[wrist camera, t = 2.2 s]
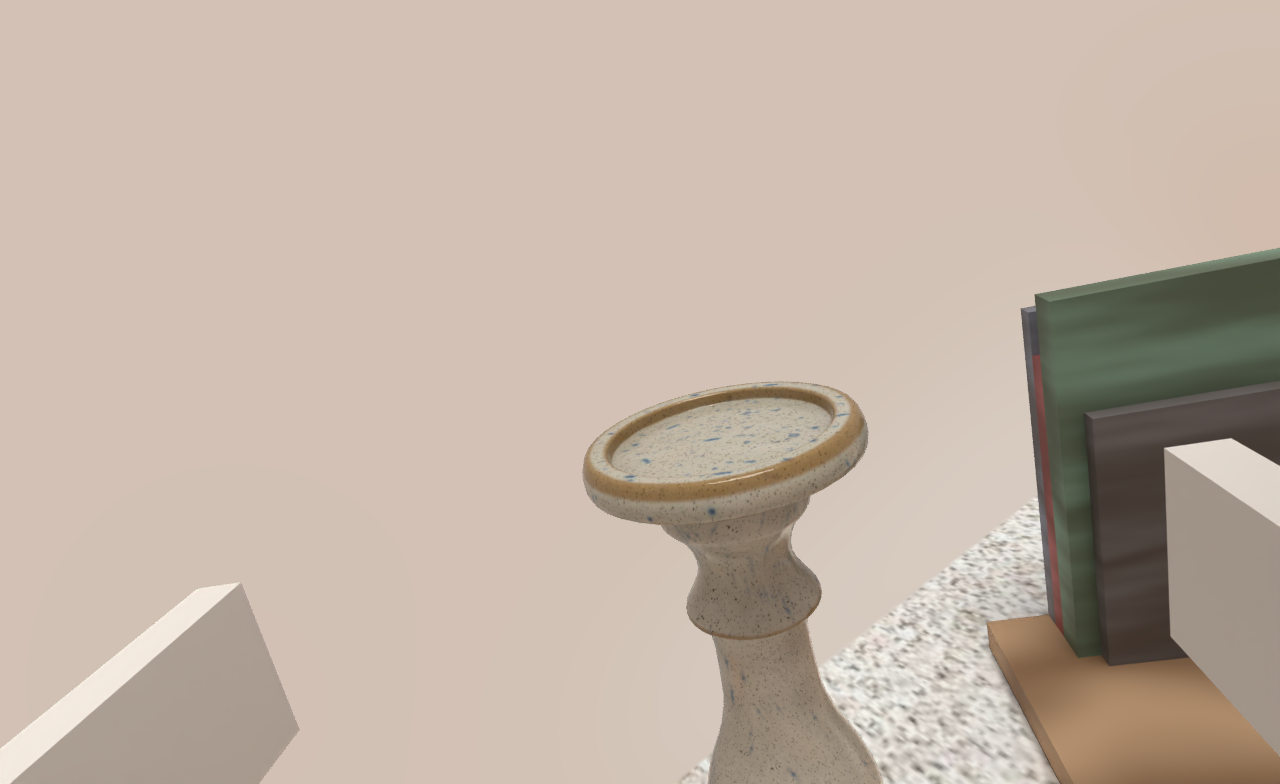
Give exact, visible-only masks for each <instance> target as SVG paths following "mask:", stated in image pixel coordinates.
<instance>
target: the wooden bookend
mask: <svg viewBox="0 0 1280 784" xmlns="http://www.w3.org/2000/svg"><path fill="white" fill-rule="evenodd" d="M1035 304H1036V306H1032V307H1027V308H1022V309H1021V315H1022V327H1023V338H1024V348H1025V360H1026V370H1027V381H1028V392H1029V403H1030V413H1031V425H1032V436H1033V446H1034V457H1035V468H1036V480H1037V489H1038V501H1039V512H1040V523H1041V534H1042V545H1043V556H1044V567H1045V578H1046V589H1047V599H1048V610H1049V615H1042V616H1034V617H1025V618H1017V619H1009V620H1001V621H993V622H987V628H988V637H989V645H990V649H991V651H992V652H993V654H994V656H995V658H996V660H997V662H998V664H999V666H1000V668H1001V670H1002V672H1003V674H1004V676H1005V678H1006V680H1007V681H1008V683H1009V685H1010V687H1011V689H1012V691H1013V693H1014V695H1015V697H1016V699H1017V701H1018V703H1019V705H1020V707H1021V708H1022V710H1023V712H1024V714H1025V716H1026V718H1027V720H1028V722H1029V724H1030V726H1031V728H1032V730H1033V732H1034V734H1035V735H1036V737H1037V739H1038V741H1039V743H1040V745H1041V747H1042V749H1043V751H1044V753H1045V755H1046V757H1047V759H1048V761H1049V762H1050V764H1051V766H1052V768H1053V770H1054V772H1055V774H1056V776H1057V778H1058V780H1059V782H1060V784H1280V756H1279V755H1278V754H1277V753H1276V752H1275V751H1274V750H1273V749H1272V747H1271V746H1270V745H1269V744H1268V743H1267V742H1266V741H1265V740H1264V739H1263V738H1262V736H1261V735H1260V734H1259V733H1258V732H1257V731H1256V730H1255V729H1254V728H1253V727H1252V725H1251V724H1250V723H1249V722H1248V721H1247V720H1246V719H1245V718H1244V717H1243V716H1242V714H1241V713H1240V712H1239V711H1238V710H1237V709H1236V708H1235V707H1234V706H1233V704H1232V703H1231V702H1230V701H1229V700H1228V699H1227V698H1226V697H1225V696H1224V695H1223V693H1222V692H1221V691H1220V690H1219V689H1218V688H1217V687H1216V686H1215V685H1214V684H1213V682H1212V681H1211V680H1210V679H1209V678H1208V677H1207V676H1206V675H1205V674H1204V673H1203V671H1202V670H1201V669H1200V668H1199V667H1198V666H1197V665H1196V664H1195V663H1194V662H1193V660H1192V659H1191V658H1190V657H1189V656H1188V655H1187V654H1186V653H1185V652H1184V651H1183V649H1182V648H1181V647H1180V646H1179V645H1178V644H1177V643H1176V642H1175V641H1174V640H1173V638H1172V637H1171V636H1170V608H1169V579H1168V549H1167V520H1166V491H1165V461H1164V448H1168V447H1175V446H1181V445H1188V444H1195V443H1202V442H1209V441H1216V440H1223V439H1230V438H1232V439H1233V440H1235V441H1237V442H1239V443H1240V444H1242V445H1244V446H1246V447H1247V448H1249V449H1251V450H1253V451H1254V452H1256V453H1258V454H1260V455H1261V456H1263V457H1265V458H1267V459H1268V460H1270V461H1272V462H1274V463H1275V464H1277V465H1279V466H1280V248H1276V249H1272V250H1266V251H1261V252H1255V253H1251V254H1245V255H1240V256H1235V257H1229V258H1224V259H1219V260H1213V261H1209V262H1203V263H1198V264H1193V265H1187V266H1182V267H1177V268H1172V269H1167V270H1161V271H1156V272H1150V273H1146V274H1140V275H1135V276H1130V277H1124V278H1119V279H1114V280H1108V281H1103V282H1098V283H1093V284H1088V285H1083V286H1077V287H1072V288H1067V289H1061V290H1056V291H1051V292H1046V293H1040V294H1035Z"/></svg>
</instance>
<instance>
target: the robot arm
mask: <svg viewBox="0 0 1280 784" xmlns="http://www.w3.org/2000/svg"><path fill="white" fill-rule="evenodd" d="M1164 461H1165V491H1166V520H1167V549H1168V579H1169V608H1170V636H1171V637H1172V638H1173V640H1174V641H1175V642H1176V643H1177V644H1178V645H1179V646H1180V647H1181V648H1182V649H1183V651H1184V652H1185V653H1186V654H1187V655H1188V656H1189V657H1190V658H1191V659H1192V660H1193V662H1194V663H1195V664H1196V665H1197V666H1198V667H1199V668H1200V669H1201V670H1202V671H1203V673H1204V674H1205V675H1206V676H1207V677H1208V678H1209V679H1210V680H1211V681H1212V682H1213V684H1214V685H1215V686H1216V687H1217V688H1218V689H1219V690H1220V691H1221V692H1222V693H1223V695H1224V696H1225V697H1226V698H1227V699H1228V700H1229V701H1230V702H1231V703H1232V704H1233V706H1234V707H1235V708H1236V709H1237V710H1238V711H1239V712H1240V713H1241V714H1242V716H1243V717H1244V718H1245V719H1246V720H1247V721H1248V722H1249V723H1250V724H1251V725H1252V727H1253V728H1254V729H1255V730H1256V731H1257V732H1258V733H1259V734H1260V735H1261V736H1262V738H1263V739H1264V740H1265V741H1266V742H1267V743H1268V744H1269V745H1270V746H1271V747H1272V749H1273V750H1274V751H1275V752H1276V753H1277V754H1278V755H1279V756H1280V466H1279V465H1277V464H1275V463H1274V462H1272V461H1270V460H1268V459H1267V458H1265V457H1263V456H1261V455H1260V454H1258V453H1256V452H1254V451H1253V450H1251V449H1249V448H1247V447H1246V446H1244V445H1242V444H1240V443H1239V442H1237V441H1235V440H1233V439H1232V438H1230V439H1223V440H1216V441H1209V442H1202V443H1195V444H1188V445H1181V446H1175V447H1168V448H1164ZM298 731H299V727H298V725H297V722H296V720H295V717H294V715H293V712H292V710H291V707H290V705H289V702H288V700H287V697H286V695H285V692H284V690H283V687H282V684H281V682H280V680H279V677H278V675H277V672H276V669H275V667H274V664H273V662H272V659H271V657H270V654H269V652H268V649H267V647H266V644H265V642H264V639H263V637H262V634H261V632H260V629H259V627H258V624H257V622H256V619H255V616H254V614H253V612H252V609H251V606H250V604H249V601H248V599H247V596H246V594H245V591H244V589H243V586H242V584H241V583H233V584H226V585H220V586H212V587H205V588H199V589H197V590H195V591H194V592H193V593H192V594H191V595H189V596H188V597H187V598H185V599H184V600H183V601H182V602H181V603H179V604H178V605H177V606H176V607H174V608H173V609H172V610H171V611H170V612H168V613H167V614H166V615H165V616H163V617H162V618H161V619H160V620H158V621H157V622H156V623H155V624H153V625H152V626H151V627H150V628H148V630H146V631H145V632H144V633H142V634H141V635H140V636H139V637H137V638H136V639H135V640H134V641H133V642H131V643H130V644H129V645H128V646H126V647H125V648H124V649H123V650H121V651H120V652H119V653H118V654H117V655H115V656H114V657H113V658H112V659H110V660H109V661H108V662H107V663H105V664H104V665H103V666H102V667H100V668H99V669H98V670H97V671H96V672H94V673H93V674H92V675H91V676H89V677H88V678H87V679H86V680H85V681H83V682H82V683H81V684H80V685H78V686H77V687H76V688H75V689H73V690H72V691H71V692H70V693H68V694H67V695H66V696H65V697H63V698H62V699H61V700H60V701H59V702H57V703H56V704H55V705H54V706H52V707H51V708H50V709H49V710H47V711H46V712H45V713H44V714H43V715H41V716H40V717H39V718H38V719H36V720H35V721H34V722H33V723H31V724H30V725H29V726H28V727H27V728H25V729H24V730H23V731H22V732H20V733H19V734H18V735H17V736H15V737H14V738H13V739H12V740H11V741H9V742H8V743H7V744H6V745H4V746H3V747H2V748H1V749H0V784H259V783H260V781H261V780H262V779H263V778H264V776H265V775H266V774H267V772H268V771H269V770H270V768H271V767H272V766H273V764H274V763H275V761H276V760H277V759H278V758H279V756H280V755H281V754H282V752H283V751H284V750H285V748H286V747H287V746H288V744H289V743H290V742H291V740H292V739H293V738H294V736H295V735H296V734H297V732H298Z"/></svg>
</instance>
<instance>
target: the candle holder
mask: <svg viewBox="0 0 1280 784" xmlns="http://www.w3.org/2000/svg"><path fill="white" fill-rule="evenodd" d="M867 444H868V427H867V423H866V420H865V417H864V415H863V413H862V411H861V409H860V408H859V406H858V404H857V403H855V402H854V400H852V399H851V398H850V397H849V396H848V395H847V394H845V393H843V392H841V391H839V390H836V389H833V388H830V387H827V386H822V385H817V384H810V383H799V382H761V383H750V384H741V385H733V386H727V387H721V388H716V389H711V390H706V391H702V392H697V393H693V394H689V395H686V396H682V397H678V398H675V399H672V400H669V401H666V402H663V403H660V404H658V405H655V406H652V407H650V408H647V409H645V410H642V411H640V412H638V413H636V414H634V415H631V416H629V417H628V418H626V419H624V420H622V421H620V422H619V423H617V424H615V425H614V426H612V427H611V428H609V429H608V430H606V431H605V432H604V433H603V434H601V435H600V436H599V437H598V438H597V439H596V440H595V441H594V442H593V443H592V444H591V446H590V447H589V449H588V451H587V453H586V455H585V458H584V464H583V481H584V485H585V488H586V491H587V494H588V496H589V497H590V499H591V500H592V501H593V502H594V504H595V505H596V506H597V507H598V508H600V509H601V510H603V511H605V512H606V513H607V514H610V515H613V516H615V517H618V518H621V519H625V520H630V521H634V522H639V523H647V524H657V525H661V526H662V528H663V530H664V531H666V532H667V533H668V534H669V535H670V536H671V537H673V538H675V539H676V540H678V541H680V542H682V543H684V544H685V545H687V546H688V547H689V549H690V550H691V551H692V552H693V554H694V556H695V558H696V560H697V564H698V574H697V577H696V579H695V582H694V584H693V586H692V588H691V590H690V593H689V596H688V598H687V613H688V616H689V618H690V620H691V621H692V622H693V624H694V625H695V626H696V627H698V628H699V629H700V630H702V631H703V632H705V633H707V634H710V635H712V637H713V640H714V643H715V647H716V652H717V658H718V663H719V668H720V674H721V681H722V687H723V693H724V708H723V717H722V724H721V728H720V731H719V734H718V737H717V740H716V744H715V747H714V751H713V755H712V759H711V763H710V769H709V776H708V784H883V780H882V777H881V774H880V771H879V769H878V766H877V764H876V762H875V760H874V758H873V756H872V754H871V752H870V751H869V749H868V747H867V746H866V744H865V743H864V741H863V740H862V738H861V737H860V735H859V734H858V732H857V731H856V730H855V728H854V727H853V726H852V725H851V723H850V722H849V721H848V720H847V719H846V717H845V716H844V715H843V714H842V713H841V712H840V711H839V709H838V708H837V707H836V705H835V704H834V703H833V701H832V699H831V698H830V696H829V694H828V693H827V691H826V689H825V687H824V685H823V682H822V680H821V677H820V674H819V670H818V666H817V662H816V659H815V655H814V651H813V647H812V642H811V638H810V633H809V629H808V620H807V618H808V617H809V616H810V615H811V614H812V613H813V612H814V610H815V609H816V608H817V606H818V605H819V602H820V599H821V594H822V590H821V585H820V583H819V580H818V579H817V577H816V575H815V574H814V573H813V572H812V571H811V570H810V569H809V568H808V567H807V566H806V565H805V564H804V563H802V561H801V560H800V559H799V558H798V557H797V556H796V555H795V553H794V552H793V550H792V546H791V534H792V530H793V527H794V524H795V523H796V521H797V520H798V519H799V518H800V517H801V516H802V514H803V513H804V511H805V510H806V508H807V506H808V504H809V501H810V495H813V494H815V493H816V492H819V491H820V490H823V489H824V488H826V487H828V486H829V485H831V484H832V483H834V482H835V481H837V480H839V479H840V478H842V477H843V476H844V475H846V474H847V473H848V472H849V471H850V470H851V469H853V468H854V467H855V466H856V465H857V463H858V462H859V461H860V460H861V458H862V457H863V455H864V453H865V450H866V448H867Z"/></svg>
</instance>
